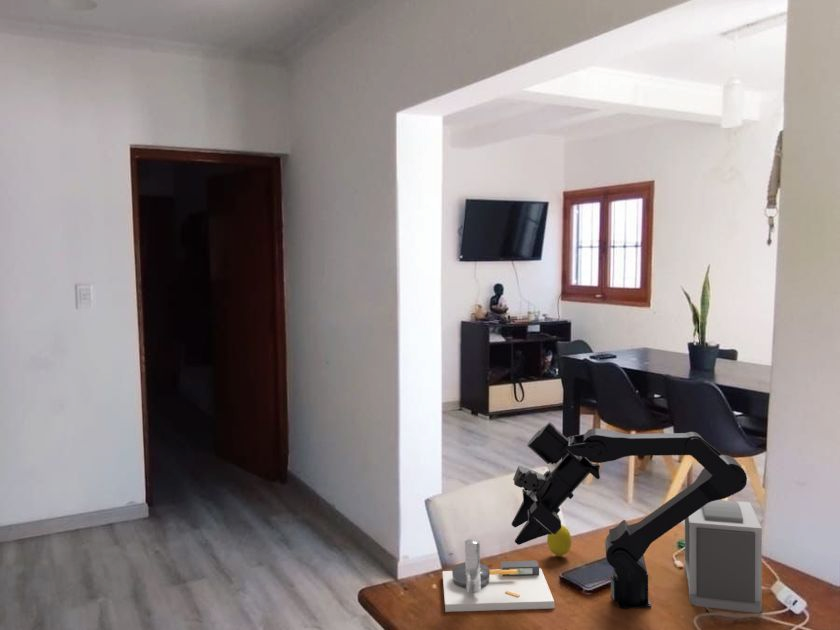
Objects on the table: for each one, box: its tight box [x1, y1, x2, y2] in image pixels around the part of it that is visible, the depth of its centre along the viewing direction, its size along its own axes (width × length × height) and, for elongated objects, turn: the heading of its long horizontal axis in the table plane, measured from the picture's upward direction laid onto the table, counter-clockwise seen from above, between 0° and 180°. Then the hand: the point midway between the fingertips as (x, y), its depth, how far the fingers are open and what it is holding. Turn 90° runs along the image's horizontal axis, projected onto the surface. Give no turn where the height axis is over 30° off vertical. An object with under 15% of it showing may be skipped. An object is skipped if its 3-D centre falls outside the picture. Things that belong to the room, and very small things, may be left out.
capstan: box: [451, 538, 517, 593], centre depth 144 cm, size 14×12×11 cm
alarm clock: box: [684, 499, 763, 614], centre depth 142 cm, size 18×13×18 cm
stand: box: [442, 560, 555, 613], centre depth 144 cm, size 22×15×4 cm
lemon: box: [546, 524, 572, 558], centre depth 160 cm, size 6×6×8 cm
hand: (514, 534), depth 141 cm, fingers open, 9 cm apart
